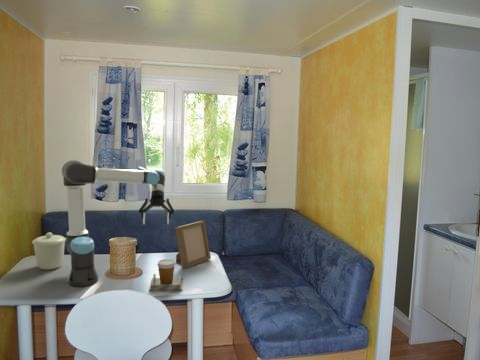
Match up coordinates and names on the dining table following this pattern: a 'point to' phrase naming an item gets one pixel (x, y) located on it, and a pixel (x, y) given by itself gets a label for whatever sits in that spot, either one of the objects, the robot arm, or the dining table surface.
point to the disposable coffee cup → (166, 271)
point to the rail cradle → (174, 286)
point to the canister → (49, 251)
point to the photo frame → (192, 244)
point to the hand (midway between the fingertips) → (155, 223)
